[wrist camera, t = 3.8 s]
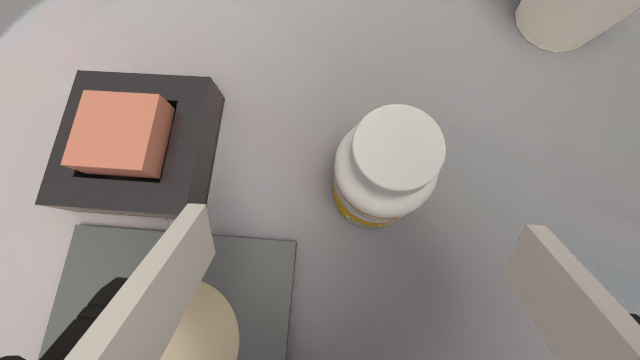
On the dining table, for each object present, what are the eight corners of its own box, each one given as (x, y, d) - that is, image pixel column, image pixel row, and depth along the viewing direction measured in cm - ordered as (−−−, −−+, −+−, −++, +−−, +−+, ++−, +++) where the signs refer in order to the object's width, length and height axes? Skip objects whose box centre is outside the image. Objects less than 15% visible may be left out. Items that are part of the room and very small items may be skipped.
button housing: (224, 98, 24) (210, 77, 21) (203, 220, 22) (184, 215, 19) (107, 92, 25) (77, 70, 22) (73, 211, 22) (34, 204, 19)
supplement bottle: (384, 147, 23) (423, 70, 13) (419, 210, 21) (489, 174, 12) (320, 175, 22) (314, 116, 13) (352, 241, 21) (371, 230, 12)
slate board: (296, 242, 21) (295, 241, 20) (274, 480, 18) (272, 489, 17) (82, 225, 22) (74, 224, 21) (20, 450, 18) (9, 458, 18)
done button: (174, 108, 21) (159, 94, 19) (159, 178, 20) (141, 170, 18) (105, 105, 22) (83, 90, 20) (86, 173, 20) (60, 164, 18)
